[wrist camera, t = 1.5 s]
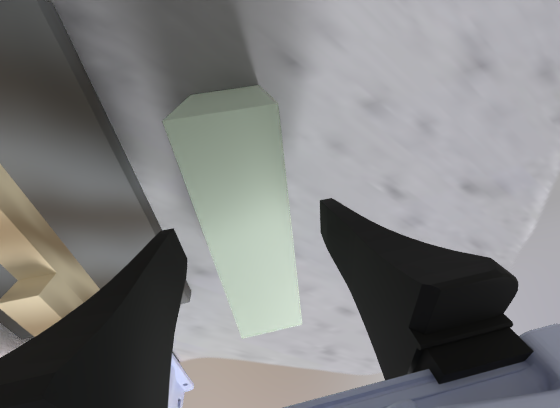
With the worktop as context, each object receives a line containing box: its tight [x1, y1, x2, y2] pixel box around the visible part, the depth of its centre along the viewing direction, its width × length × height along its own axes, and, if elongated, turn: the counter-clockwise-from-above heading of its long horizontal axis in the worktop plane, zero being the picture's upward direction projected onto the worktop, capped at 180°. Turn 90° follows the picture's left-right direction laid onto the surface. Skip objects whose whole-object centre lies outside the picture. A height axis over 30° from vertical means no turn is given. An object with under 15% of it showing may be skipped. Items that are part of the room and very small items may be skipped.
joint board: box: [0, 0, 191, 339], centre depth 12 cm, size 18×12×4 cm, turn 7°
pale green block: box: [162, 85, 302, 339], centre depth 13 cm, size 12×4×6 cm, turn 7°
